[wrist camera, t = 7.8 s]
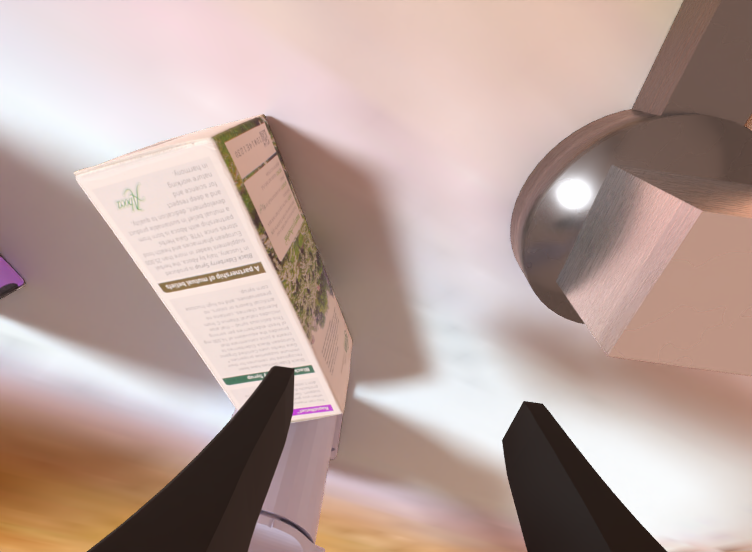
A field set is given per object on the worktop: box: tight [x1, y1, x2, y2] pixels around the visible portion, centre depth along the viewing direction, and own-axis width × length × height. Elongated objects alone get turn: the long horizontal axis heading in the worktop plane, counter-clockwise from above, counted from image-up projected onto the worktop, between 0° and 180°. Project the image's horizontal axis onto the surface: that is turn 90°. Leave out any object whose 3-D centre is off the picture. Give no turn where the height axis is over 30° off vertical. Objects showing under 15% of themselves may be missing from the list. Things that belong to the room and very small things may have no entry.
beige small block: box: [556, 164, 752, 376], centre depth 14 cm, size 6×6×5 cm
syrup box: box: [74, 114, 353, 423], centre depth 18 cm, size 6×6×14 cm
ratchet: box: [510, 0, 752, 324], centre depth 12 cm, size 20×10×6 cm, turn 172°
